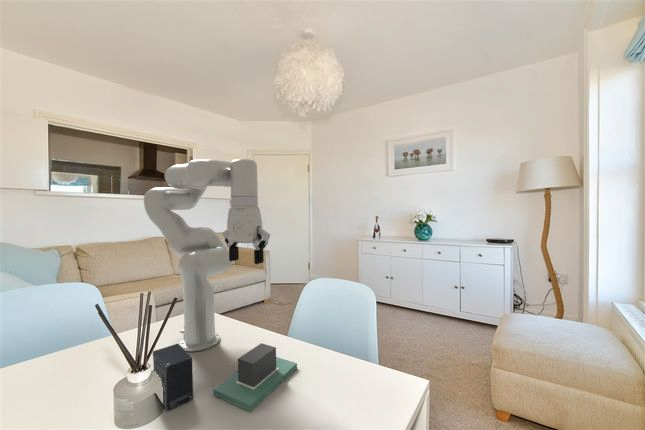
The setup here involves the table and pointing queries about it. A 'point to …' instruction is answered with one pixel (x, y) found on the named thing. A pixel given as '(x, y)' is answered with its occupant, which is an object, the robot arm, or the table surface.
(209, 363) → the table surface
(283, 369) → the board
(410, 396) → the table surface
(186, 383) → the small box
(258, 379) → the block
